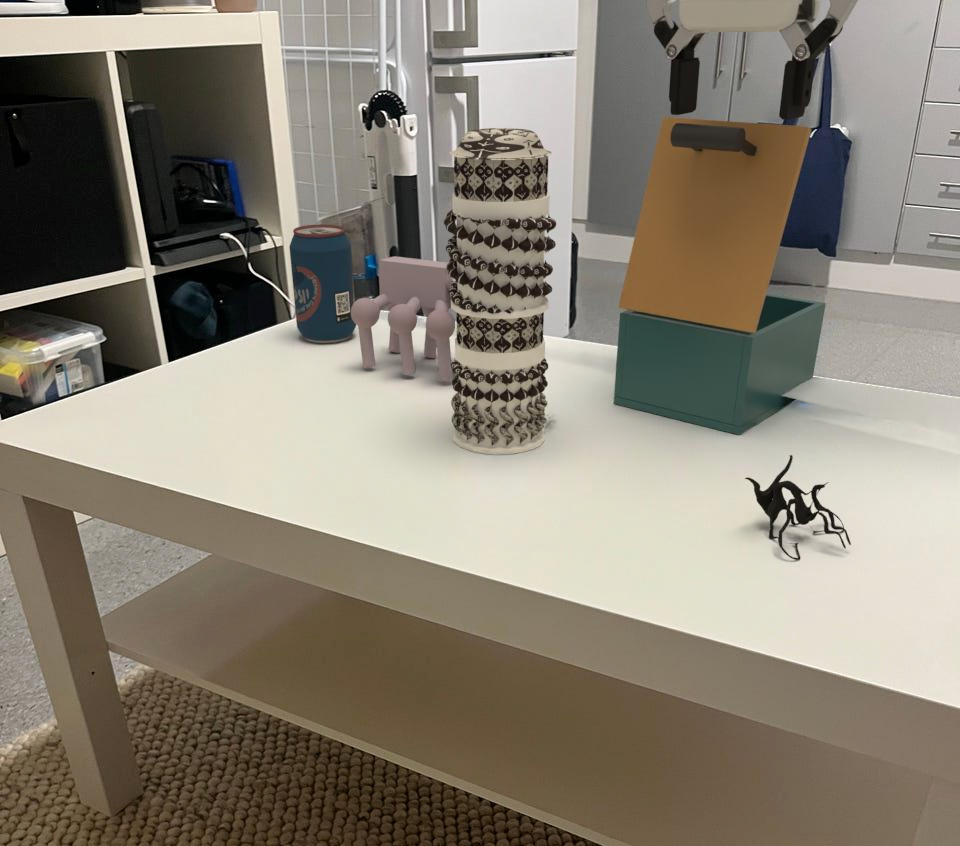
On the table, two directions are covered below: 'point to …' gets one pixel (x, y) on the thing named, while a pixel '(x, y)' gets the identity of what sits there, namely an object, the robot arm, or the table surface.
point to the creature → (775, 503)
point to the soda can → (322, 283)
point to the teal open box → (717, 364)
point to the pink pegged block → (409, 311)
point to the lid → (713, 220)
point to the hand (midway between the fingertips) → (735, 115)
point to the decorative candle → (499, 289)
